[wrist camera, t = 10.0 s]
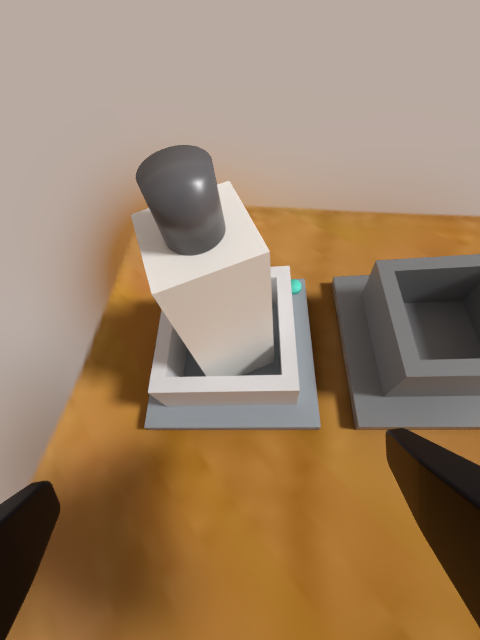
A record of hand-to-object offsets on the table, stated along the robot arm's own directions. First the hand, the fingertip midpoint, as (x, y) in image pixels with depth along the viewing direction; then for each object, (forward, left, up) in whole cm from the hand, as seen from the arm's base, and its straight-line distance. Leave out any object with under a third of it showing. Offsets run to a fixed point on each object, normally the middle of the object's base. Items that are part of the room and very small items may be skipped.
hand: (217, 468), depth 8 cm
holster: (+7, -11, -10) cm, 16 cm away
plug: (+7, +1, -9) cm, 12 cm away
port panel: (+7, +1, -10) cm, 12 cm away
